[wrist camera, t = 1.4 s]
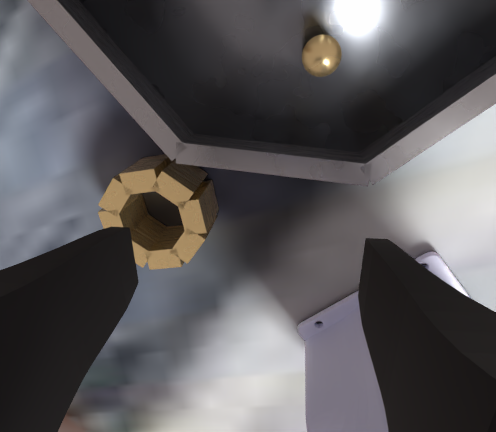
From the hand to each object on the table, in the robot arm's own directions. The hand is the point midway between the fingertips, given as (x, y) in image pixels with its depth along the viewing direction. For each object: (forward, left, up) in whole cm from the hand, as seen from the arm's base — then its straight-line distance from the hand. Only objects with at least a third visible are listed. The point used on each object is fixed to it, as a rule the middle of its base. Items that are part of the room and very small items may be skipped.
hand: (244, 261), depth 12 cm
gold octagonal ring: (-6, +2, -10) cm, 11 cm away
